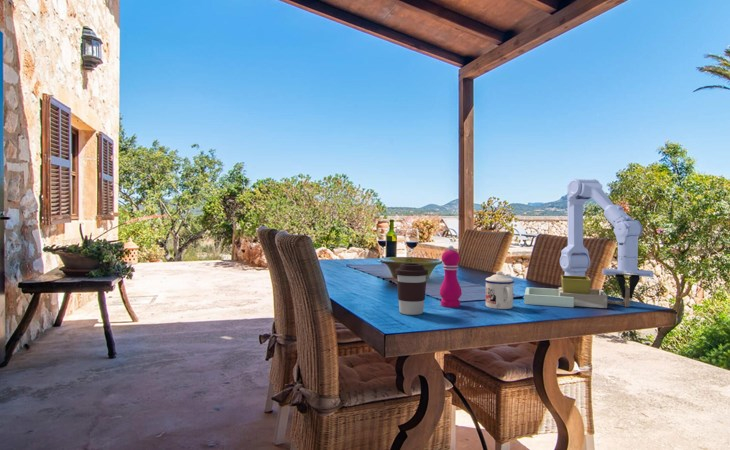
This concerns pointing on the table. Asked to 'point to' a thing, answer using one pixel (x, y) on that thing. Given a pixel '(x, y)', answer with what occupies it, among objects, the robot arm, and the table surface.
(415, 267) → the coffee cup
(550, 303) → the tray
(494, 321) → the table surface
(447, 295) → the pepper mill
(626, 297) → the carrier frame
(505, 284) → the teacup with lid
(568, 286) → the flower pot
